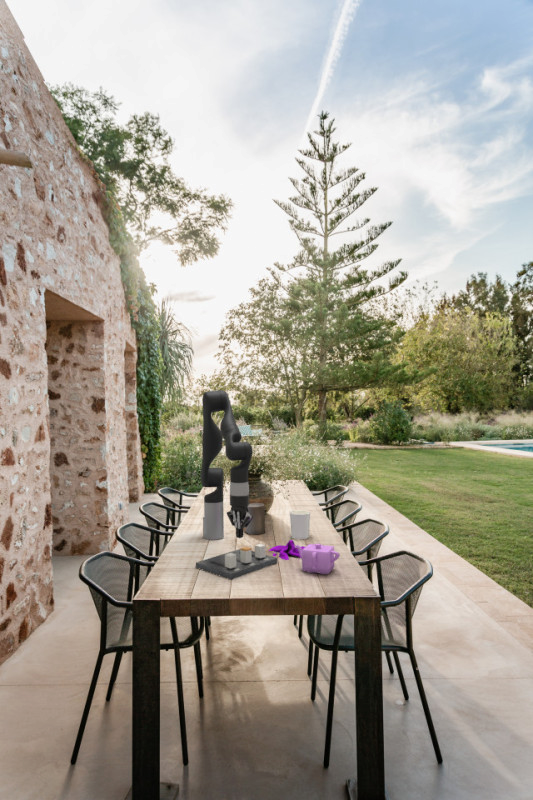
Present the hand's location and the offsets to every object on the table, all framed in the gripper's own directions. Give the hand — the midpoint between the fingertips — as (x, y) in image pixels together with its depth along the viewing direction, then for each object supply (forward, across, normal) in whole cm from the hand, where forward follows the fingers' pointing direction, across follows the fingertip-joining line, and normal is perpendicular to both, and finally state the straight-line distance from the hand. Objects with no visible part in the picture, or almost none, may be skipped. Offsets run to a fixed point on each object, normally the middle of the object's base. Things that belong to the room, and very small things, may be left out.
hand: (239, 537), depth 189 cm
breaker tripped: (+8, +4, 0) cm, 9 cm away
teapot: (+11, +26, +16) cm, 32 cm away
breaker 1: (+8, +4, -8) cm, 12 cm away
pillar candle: (+12, -31, +41) cm, 53 cm away
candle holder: (+12, -8, +48) cm, 50 cm away
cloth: (+12, +5, +24) cm, 28 cm away
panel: (+11, -1, 0) cm, 11 cm away
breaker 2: (+9, +4, +8) cm, 12 cm away
